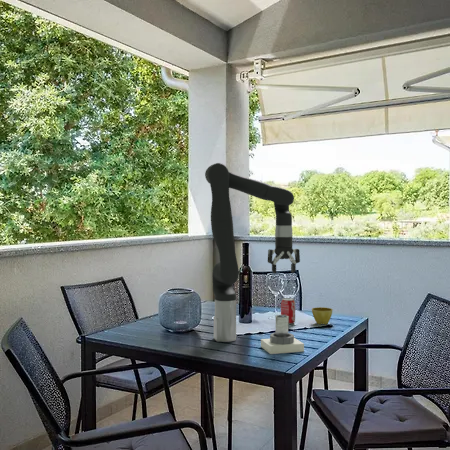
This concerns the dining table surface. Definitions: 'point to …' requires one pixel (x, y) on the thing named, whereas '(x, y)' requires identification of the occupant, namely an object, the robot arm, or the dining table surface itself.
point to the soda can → (288, 309)
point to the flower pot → (322, 315)
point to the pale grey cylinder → (281, 326)
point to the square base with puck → (282, 344)
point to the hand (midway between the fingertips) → (283, 272)
